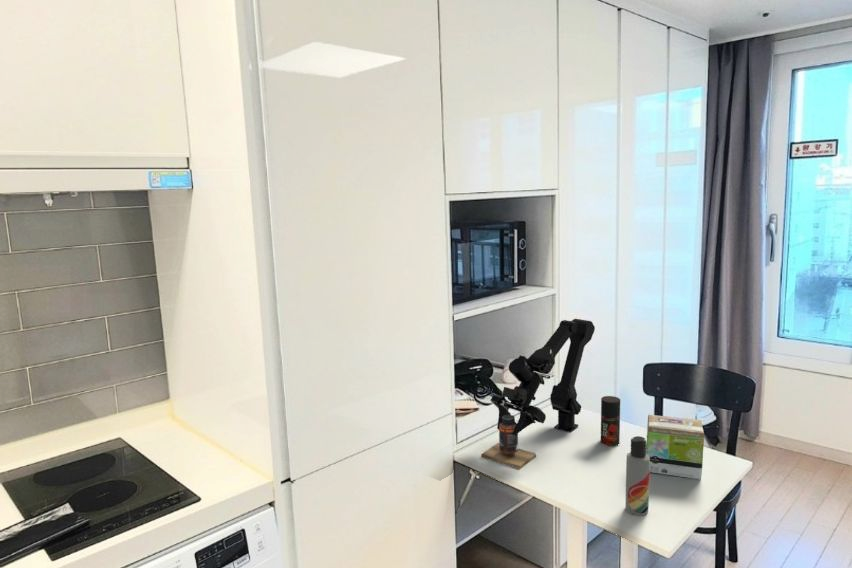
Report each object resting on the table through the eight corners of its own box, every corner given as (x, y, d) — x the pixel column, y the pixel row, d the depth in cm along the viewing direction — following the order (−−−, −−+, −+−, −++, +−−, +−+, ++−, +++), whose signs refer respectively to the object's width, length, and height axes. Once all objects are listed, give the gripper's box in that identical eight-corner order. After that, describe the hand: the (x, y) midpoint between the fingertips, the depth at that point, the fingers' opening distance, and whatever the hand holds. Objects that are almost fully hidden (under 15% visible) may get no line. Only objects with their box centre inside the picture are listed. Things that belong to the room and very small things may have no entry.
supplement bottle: (522, 451, 183) (522, 417, 181) (508, 456, 180) (508, 422, 178) (509, 444, 188) (508, 411, 186) (495, 449, 185) (495, 416, 183)
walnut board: (498, 445, 192) (498, 442, 192) (535, 456, 184) (535, 453, 184) (481, 457, 185) (481, 454, 185) (520, 469, 176) (520, 466, 176)
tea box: (646, 473, 171) (647, 426, 168) (645, 458, 180) (647, 413, 178) (702, 480, 166) (704, 432, 163) (699, 464, 175) (701, 418, 172)
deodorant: (621, 440, 193) (622, 397, 190) (616, 447, 188) (617, 403, 185) (603, 437, 196) (604, 394, 194) (598, 444, 191) (599, 400, 189)
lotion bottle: (645, 518, 148) (648, 444, 145) (623, 512, 151) (624, 440, 148) (650, 507, 153) (652, 436, 150) (628, 502, 156) (629, 431, 153)
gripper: (493, 370, 189) (471, 412, 184) (539, 383, 176) (517, 429, 170) (509, 387, 196) (488, 428, 191) (555, 400, 182) (534, 445, 177)
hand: (505, 432), depth 182 cm, fingers closed on supplement bottle, 6 cm apart
